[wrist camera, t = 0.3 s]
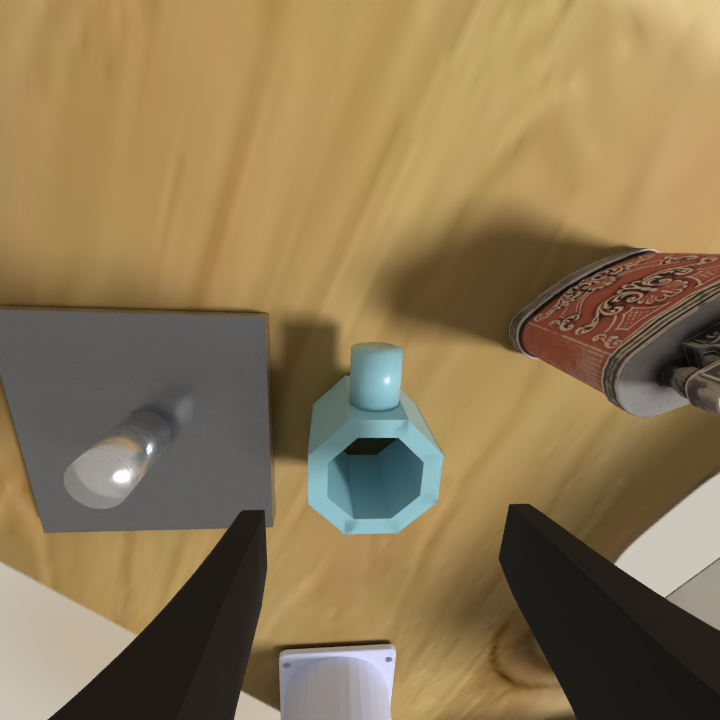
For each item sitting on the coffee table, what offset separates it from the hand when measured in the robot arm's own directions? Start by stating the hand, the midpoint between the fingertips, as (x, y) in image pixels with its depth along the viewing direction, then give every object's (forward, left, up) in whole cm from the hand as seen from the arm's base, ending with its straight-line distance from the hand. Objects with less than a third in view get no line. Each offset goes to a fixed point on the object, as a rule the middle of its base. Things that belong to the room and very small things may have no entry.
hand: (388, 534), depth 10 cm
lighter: (+6, -11, -10) cm, 16 cm away
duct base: (-1, +11, -9) cm, 14 cm away
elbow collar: (0, 0, -9) cm, 9 cm away
